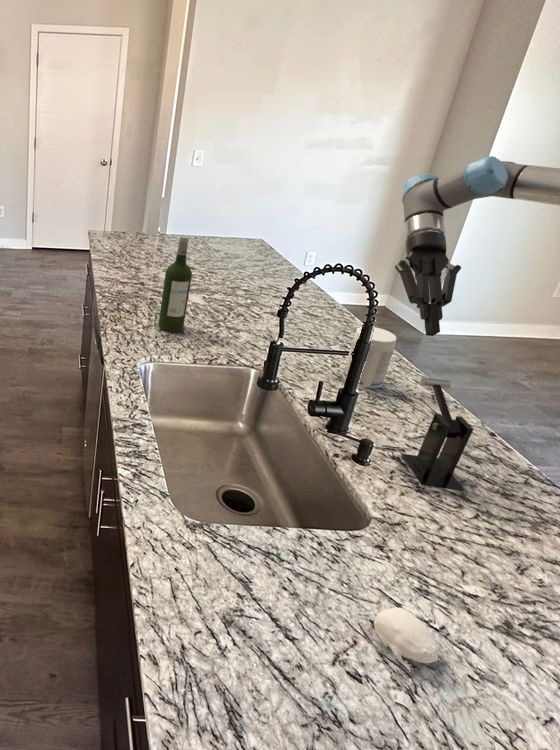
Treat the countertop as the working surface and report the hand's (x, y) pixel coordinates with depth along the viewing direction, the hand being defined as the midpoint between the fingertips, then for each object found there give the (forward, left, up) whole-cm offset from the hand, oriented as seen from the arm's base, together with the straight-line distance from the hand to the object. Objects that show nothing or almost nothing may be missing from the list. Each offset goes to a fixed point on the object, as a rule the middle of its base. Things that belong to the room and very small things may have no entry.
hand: (432, 333), depth 116 cm
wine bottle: (+63, -26, -25) cm, 72 cm away
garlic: (+2, +62, -25) cm, 67 cm away
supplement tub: (+8, -20, -25) cm, 33 cm away
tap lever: (-4, +11, -12) cm, 17 cm away
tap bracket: (-5, +16, -25) cm, 30 cm away
